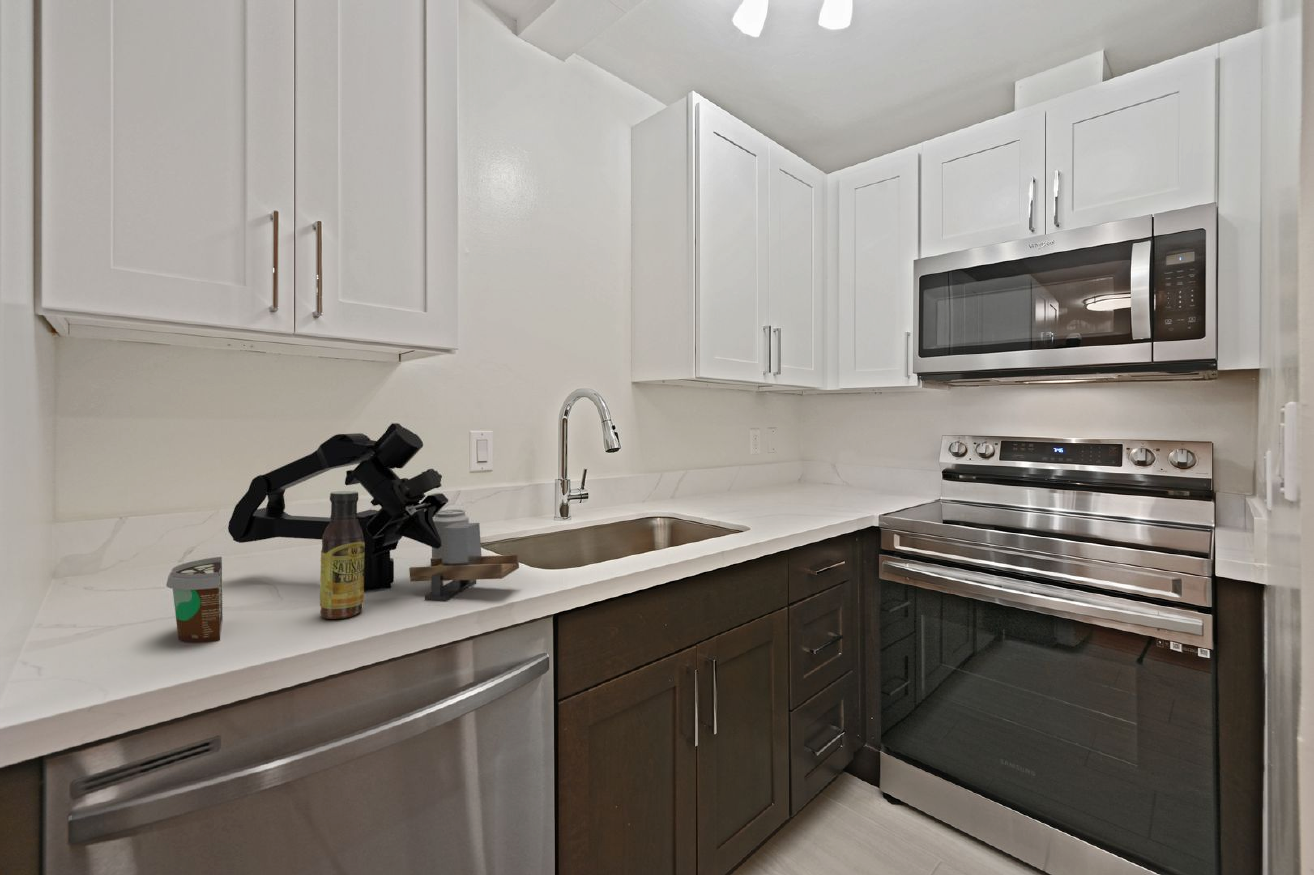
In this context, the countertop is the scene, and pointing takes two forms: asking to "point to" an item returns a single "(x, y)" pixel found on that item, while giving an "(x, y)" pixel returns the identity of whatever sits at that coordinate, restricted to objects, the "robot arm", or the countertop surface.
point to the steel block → (461, 544)
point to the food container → (198, 599)
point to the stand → (447, 588)
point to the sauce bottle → (342, 559)
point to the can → (447, 524)
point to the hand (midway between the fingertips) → (440, 546)
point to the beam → (467, 569)
